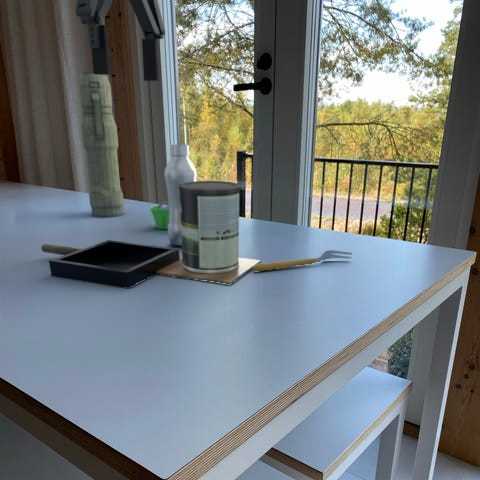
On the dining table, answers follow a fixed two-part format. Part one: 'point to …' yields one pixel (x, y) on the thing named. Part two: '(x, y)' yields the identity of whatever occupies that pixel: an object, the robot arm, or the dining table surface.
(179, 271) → the cardboard square
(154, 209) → the fruit basket
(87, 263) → the pan
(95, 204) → the thermos
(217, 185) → the coffee can
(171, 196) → the plastic bottle
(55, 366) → the dining table surface
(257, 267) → the fork
